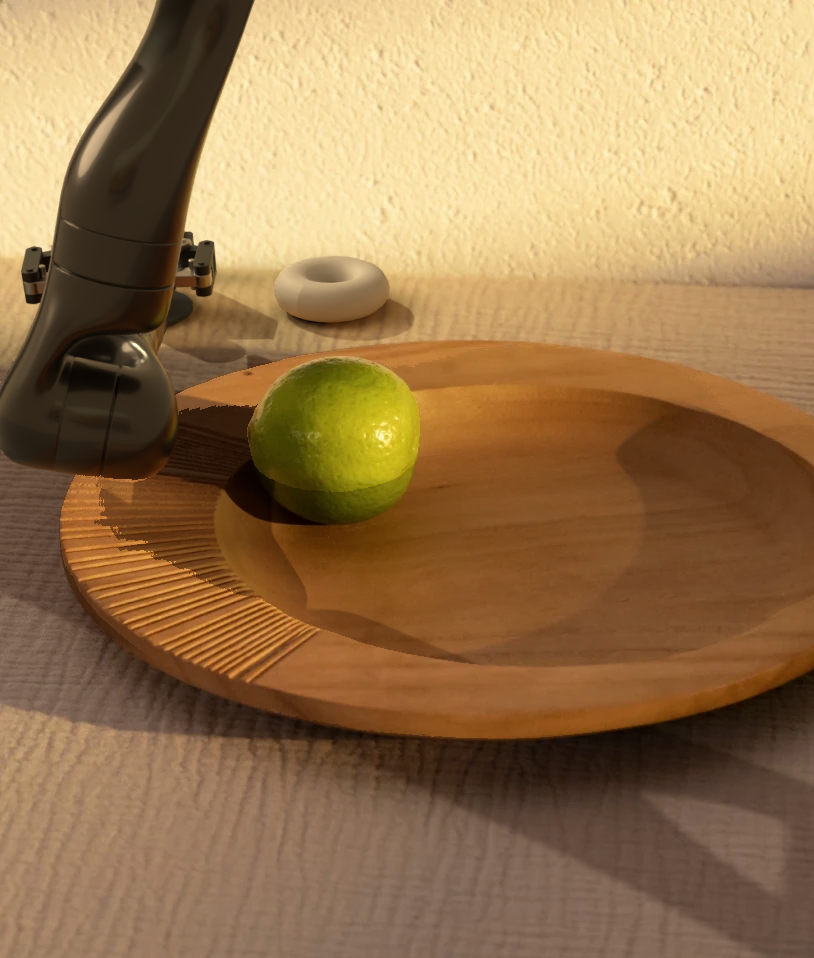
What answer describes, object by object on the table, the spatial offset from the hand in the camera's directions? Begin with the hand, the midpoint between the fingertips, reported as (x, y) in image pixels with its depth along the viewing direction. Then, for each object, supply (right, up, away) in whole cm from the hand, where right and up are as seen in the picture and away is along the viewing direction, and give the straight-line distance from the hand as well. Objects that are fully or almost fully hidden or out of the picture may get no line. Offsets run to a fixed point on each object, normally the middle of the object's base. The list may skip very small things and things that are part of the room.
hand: (127, 239), depth 107 cm
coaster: (-1, -5, +6) cm, 8 cm away
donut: (+16, -5, +8) cm, 18 cm away
